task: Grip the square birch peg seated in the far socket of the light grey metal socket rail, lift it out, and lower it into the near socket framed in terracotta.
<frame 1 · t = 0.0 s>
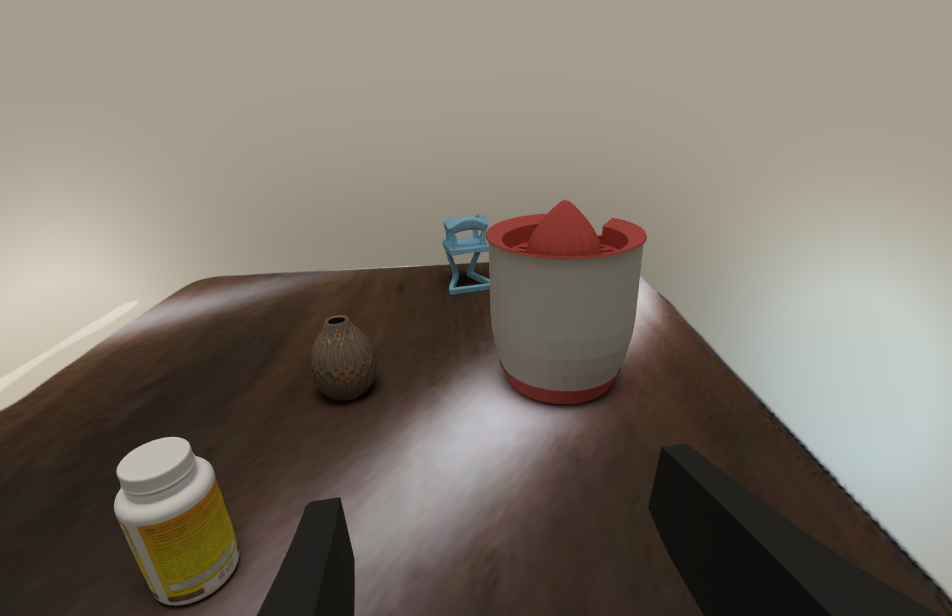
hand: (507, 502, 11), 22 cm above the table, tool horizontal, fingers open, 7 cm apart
vase: (348, 392, 55), on the table
chair: (467, 284, 83), on the table
supplement bottle: (199, 573, 34), on the table
citrus juicer: (561, 375, 56), on the table
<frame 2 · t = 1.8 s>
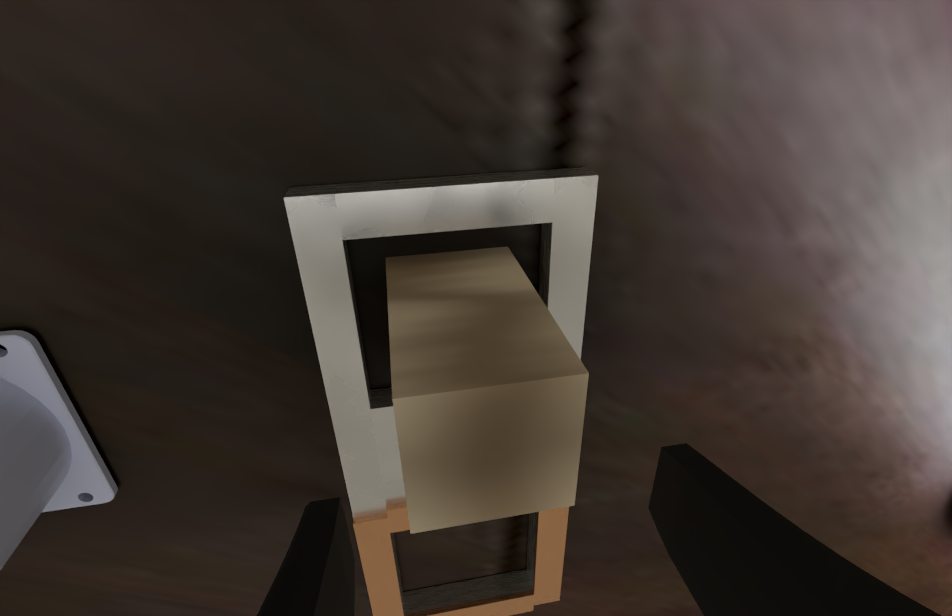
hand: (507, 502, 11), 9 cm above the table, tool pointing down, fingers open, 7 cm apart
birch peg: (450, 305, 19), resting in socket rail
socket rail: (458, 441, 22), on the table
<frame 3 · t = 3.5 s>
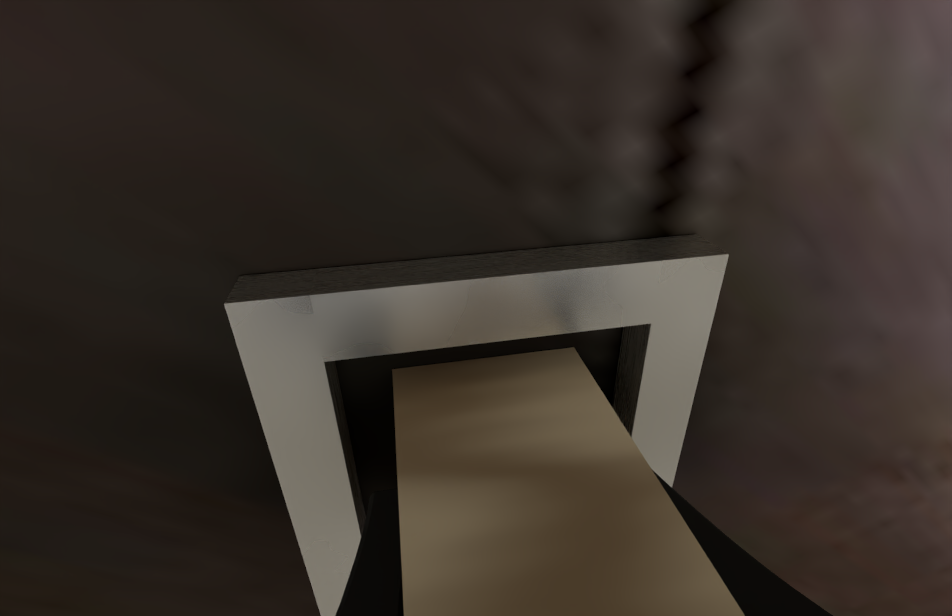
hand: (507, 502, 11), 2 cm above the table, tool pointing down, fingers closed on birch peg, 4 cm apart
birch peg: (486, 427, 13), resting in socket rail, touching gripper
socket rail: (489, 586, 16), on the table
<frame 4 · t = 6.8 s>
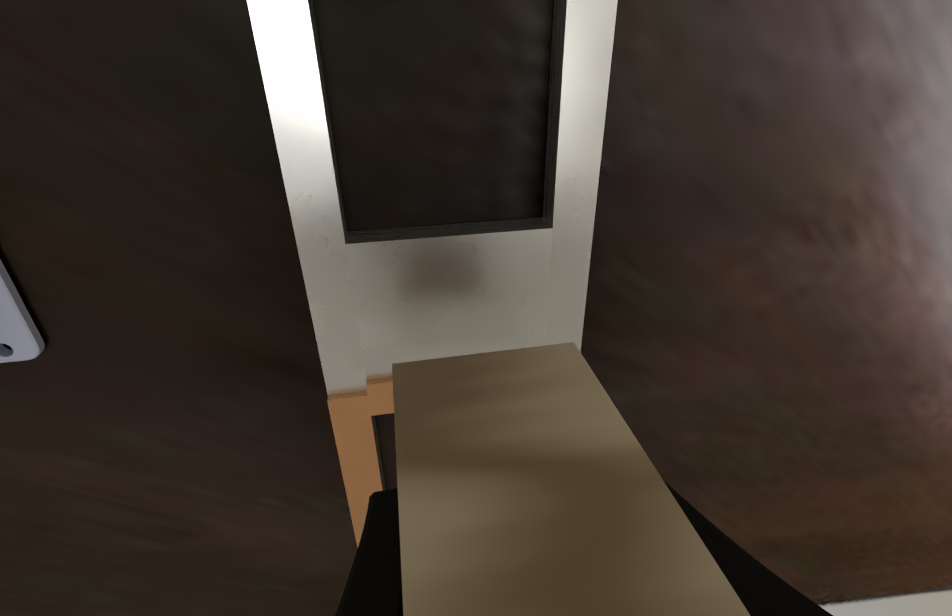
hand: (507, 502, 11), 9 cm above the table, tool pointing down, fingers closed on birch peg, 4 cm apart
birch peg: (486, 422, 13), point 7 cm above the table, touching gripper
socket rail: (451, 309, 19), on the table
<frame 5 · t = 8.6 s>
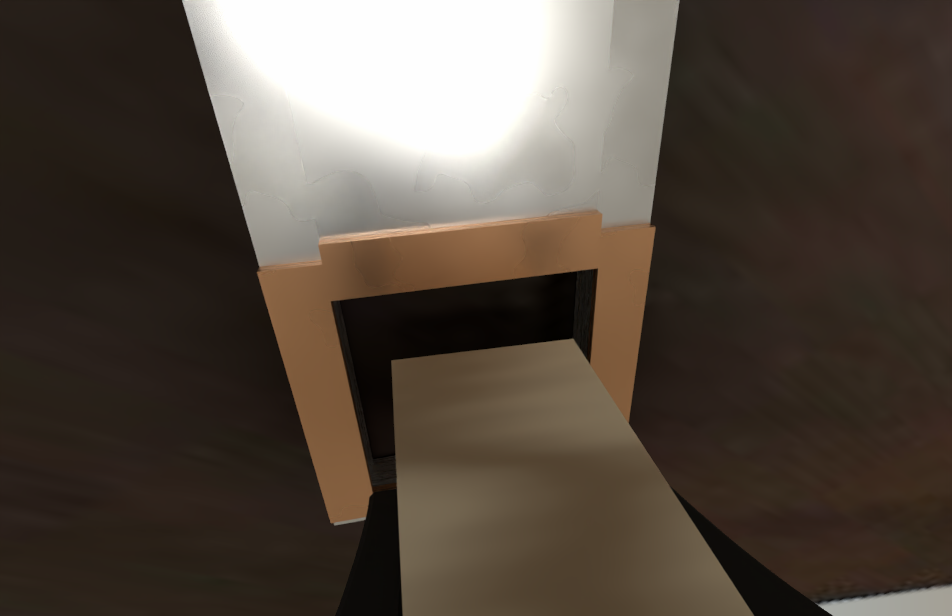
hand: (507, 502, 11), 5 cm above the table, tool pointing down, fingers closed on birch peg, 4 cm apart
birch peg: (485, 419, 13), point 3 cm above the table, touching gripper
socket rail: (451, 132, 12), on the table
when the fingers open (3 cm above the table, at t = 10.0 s): birch peg stays where it is, resting in socket rail.
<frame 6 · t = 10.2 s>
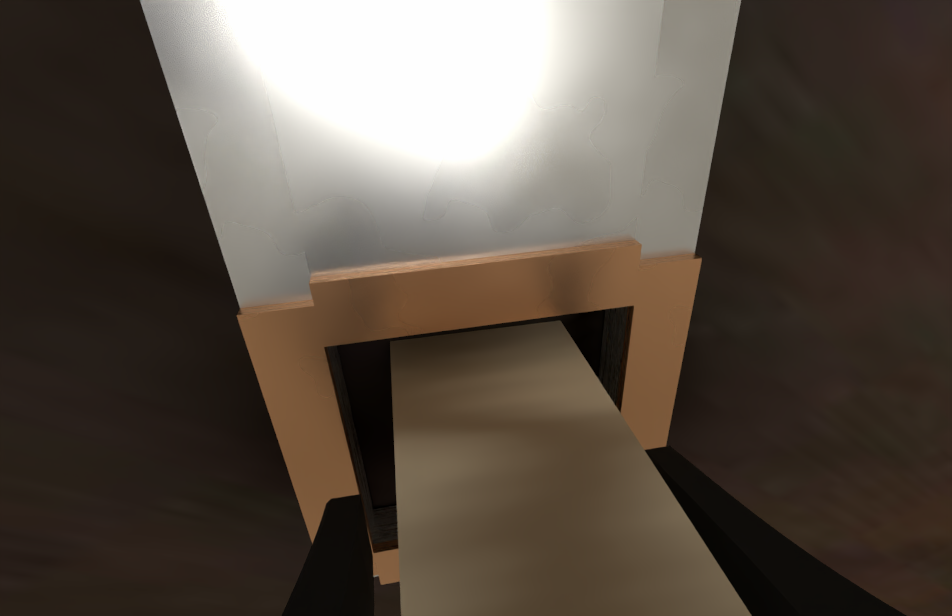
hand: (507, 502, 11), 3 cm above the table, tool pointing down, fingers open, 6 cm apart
birch peg: (479, 398, 14), resting in socket rail
socket rail: (465, 149, 10), on the table
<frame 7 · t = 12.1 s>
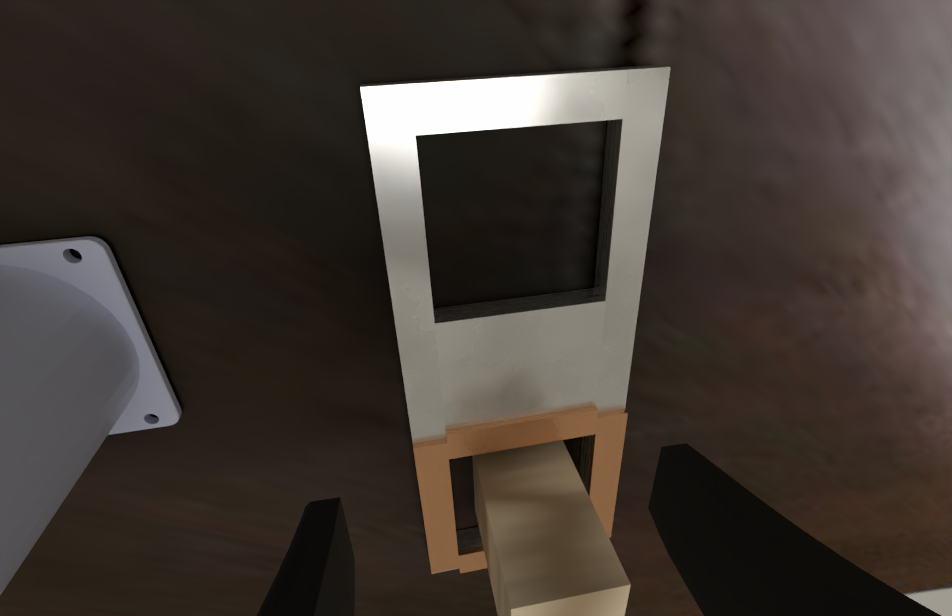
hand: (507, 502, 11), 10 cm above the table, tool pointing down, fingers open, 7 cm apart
birch peg: (515, 472, 26), resting in socket rail
socket rail: (515, 366, 22), on the table
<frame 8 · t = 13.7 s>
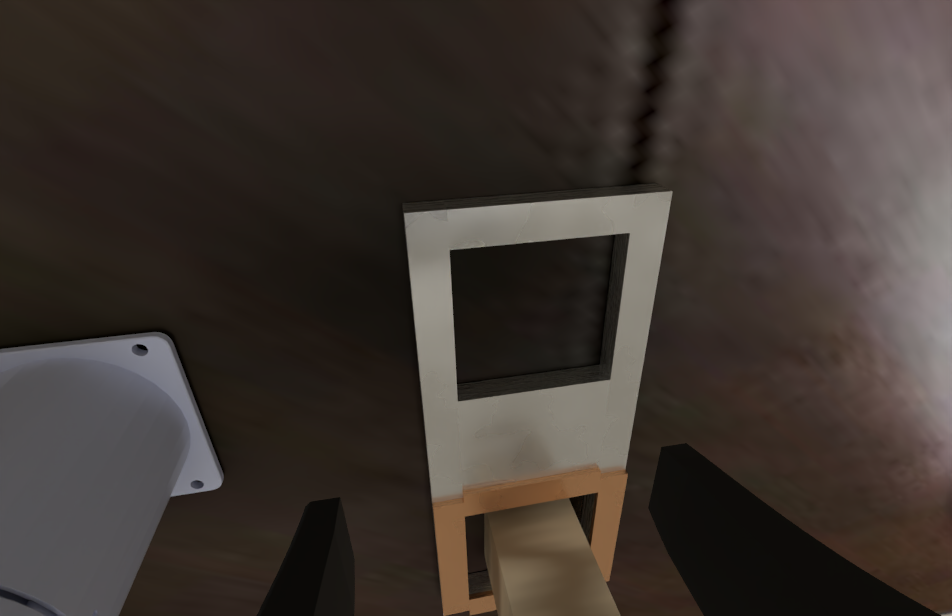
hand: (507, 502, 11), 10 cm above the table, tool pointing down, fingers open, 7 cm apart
birch peg: (523, 522, 28), resting in socket rail
socket rail: (526, 431, 24), on the table
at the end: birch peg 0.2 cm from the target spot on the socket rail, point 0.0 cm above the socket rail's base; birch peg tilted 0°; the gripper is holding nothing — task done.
